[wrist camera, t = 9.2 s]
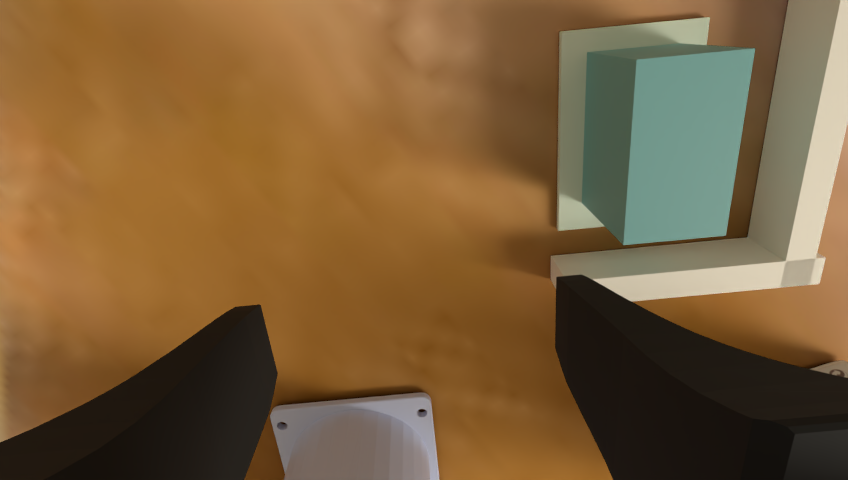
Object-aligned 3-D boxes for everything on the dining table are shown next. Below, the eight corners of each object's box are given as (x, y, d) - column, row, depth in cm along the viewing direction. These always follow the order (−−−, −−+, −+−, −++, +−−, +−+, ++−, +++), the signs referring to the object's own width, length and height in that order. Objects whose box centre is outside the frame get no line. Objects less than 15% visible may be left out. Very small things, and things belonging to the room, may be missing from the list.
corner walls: (778, 258, 23) (819, 283, 21) (550, 279, 23) (566, 307, 21) (845, -72, 18) (909, -87, 16) (553, -44, 18) (574, -54, 16)
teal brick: (664, 195, 21) (725, 235, 17) (581, 202, 21) (623, 245, 17) (679, 43, 19) (755, 48, 15) (587, 51, 19) (636, 59, 15)
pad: (682, 216, 22) (685, 219, 22) (556, 228, 22) (558, 230, 22) (705, 17, 19) (710, 16, 19) (559, 31, 19) (561, 31, 19)
